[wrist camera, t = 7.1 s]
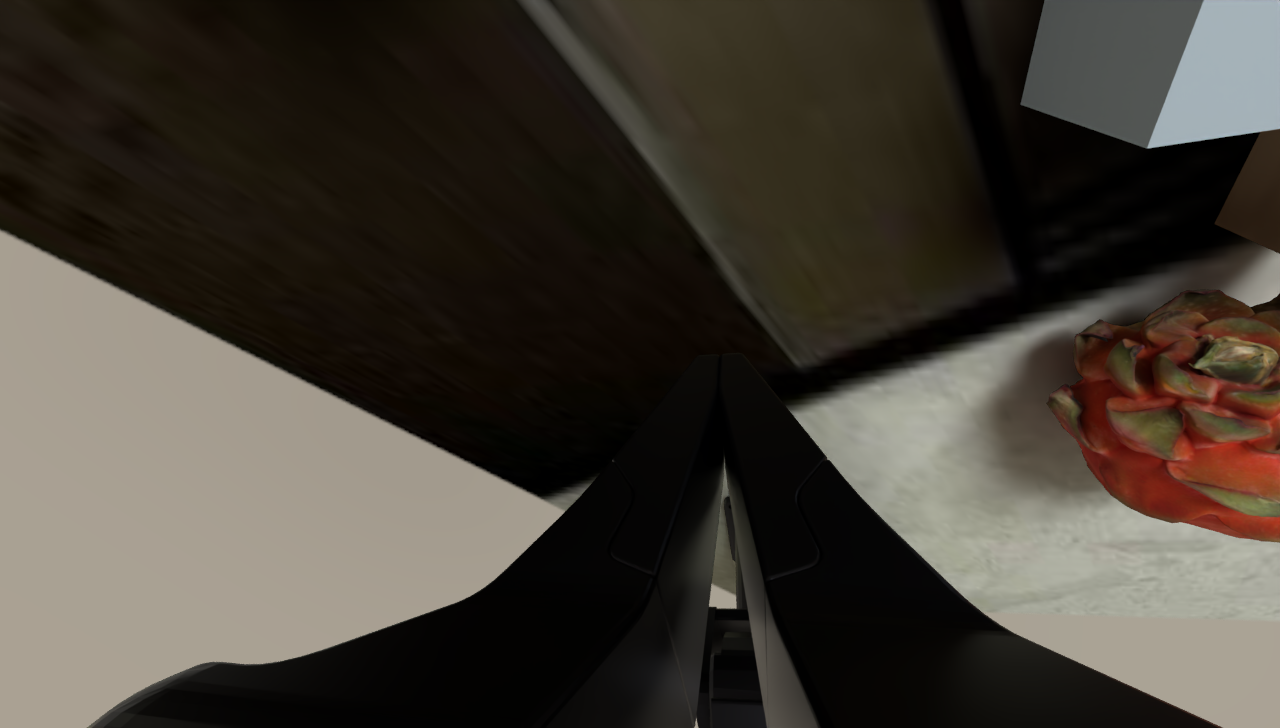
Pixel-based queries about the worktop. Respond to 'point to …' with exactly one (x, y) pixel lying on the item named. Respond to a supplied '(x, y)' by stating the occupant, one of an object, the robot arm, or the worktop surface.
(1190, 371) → the dragon fruit
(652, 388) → the worktop surface
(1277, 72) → the slate block
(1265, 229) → the walnut board
